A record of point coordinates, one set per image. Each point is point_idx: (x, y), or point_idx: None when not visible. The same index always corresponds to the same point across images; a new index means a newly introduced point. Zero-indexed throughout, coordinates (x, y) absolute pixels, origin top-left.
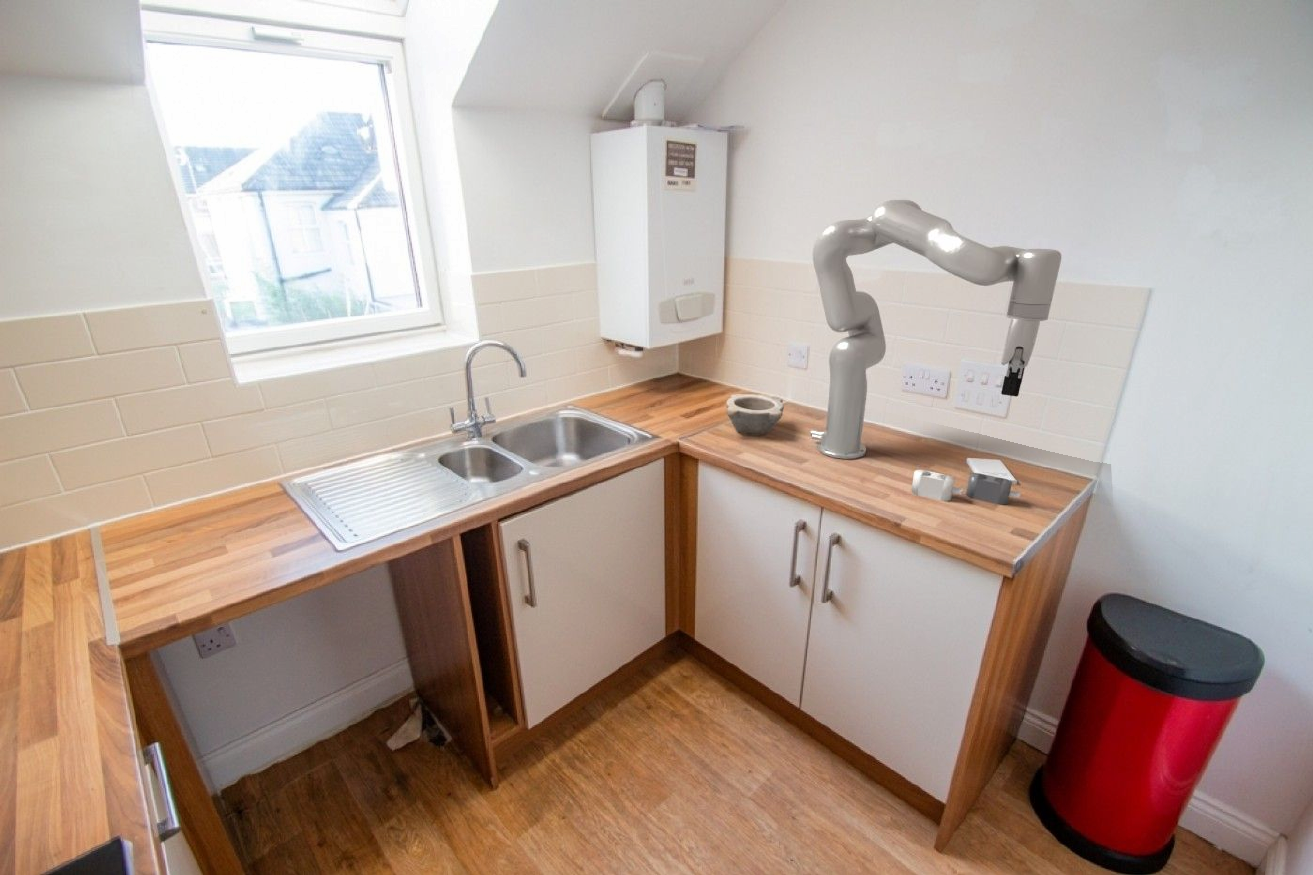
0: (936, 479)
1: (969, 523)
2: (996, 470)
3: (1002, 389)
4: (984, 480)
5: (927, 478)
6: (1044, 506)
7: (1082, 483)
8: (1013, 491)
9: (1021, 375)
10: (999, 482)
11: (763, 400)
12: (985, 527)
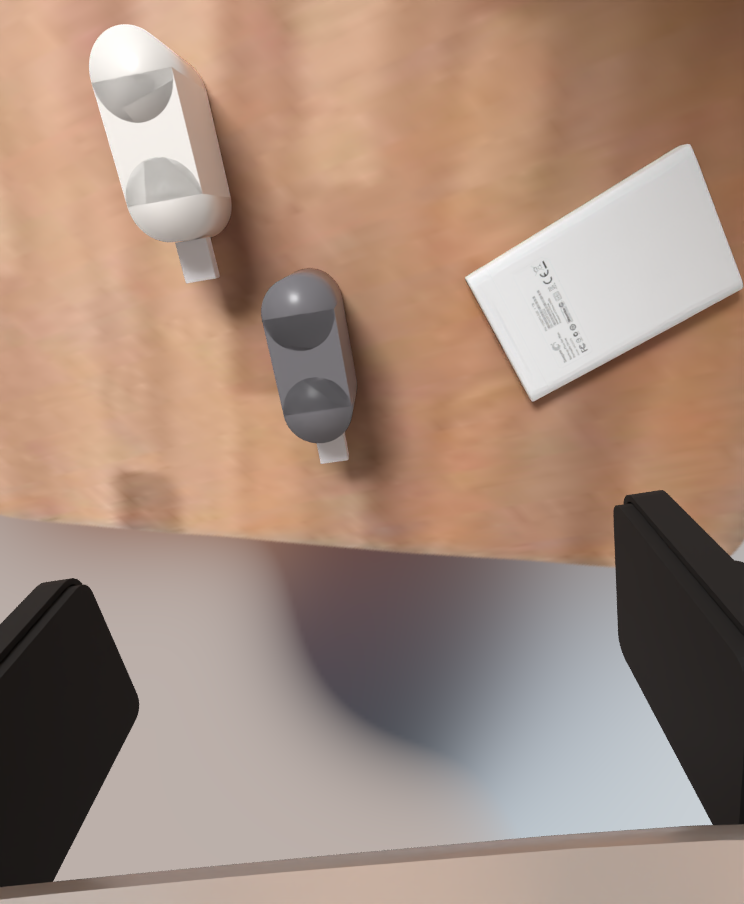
0: (117, 168)
1: (75, 359)
2: (596, 308)
3: (11, 619)
4: (269, 350)
5: (107, 121)
6: (392, 509)
7: None
8: (338, 438)
9: (674, 743)
10: (295, 403)
11: None
12: (91, 407)
